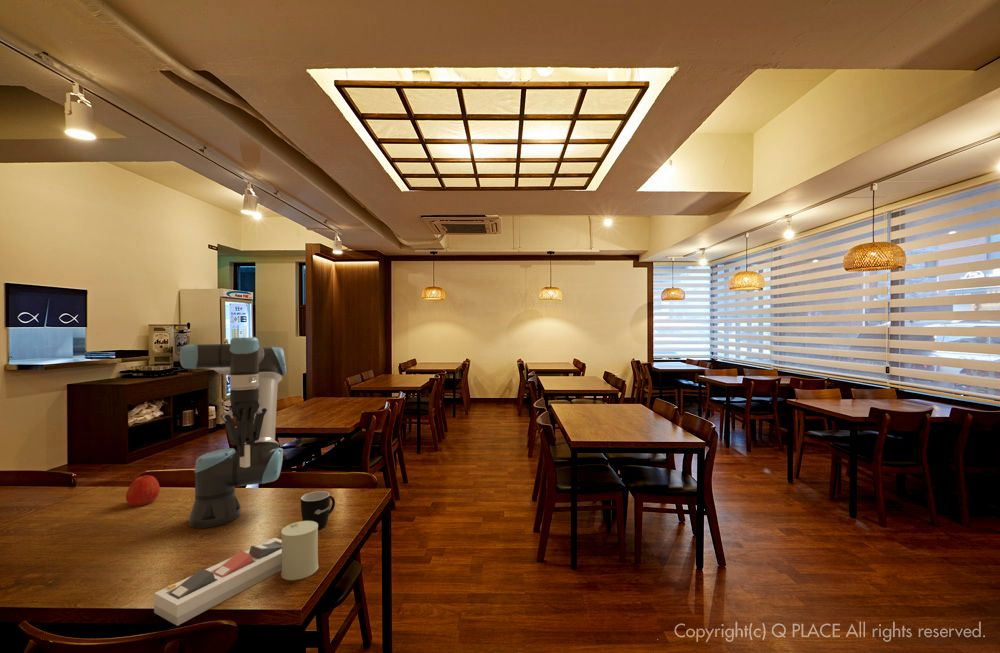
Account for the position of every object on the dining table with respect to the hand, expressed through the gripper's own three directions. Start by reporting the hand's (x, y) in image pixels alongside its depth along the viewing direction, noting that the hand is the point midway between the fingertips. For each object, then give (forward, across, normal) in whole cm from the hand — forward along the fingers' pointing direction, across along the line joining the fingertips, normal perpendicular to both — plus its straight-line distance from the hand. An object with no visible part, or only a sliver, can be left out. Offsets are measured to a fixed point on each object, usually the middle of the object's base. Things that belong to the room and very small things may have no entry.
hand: (244, 466), depth 129 cm
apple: (+25, +4, +71) cm, 75 cm away
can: (+25, -1, -26) cm, 36 cm away
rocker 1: (+20, -22, -16) cm, 34 cm away
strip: (+24, -9, -16) cm, 31 cm away
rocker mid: (+20, -13, -16) cm, 29 cm away
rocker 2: (+20, -4, -16) cm, 26 cm away
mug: (+25, +21, -7) cm, 33 cm away
